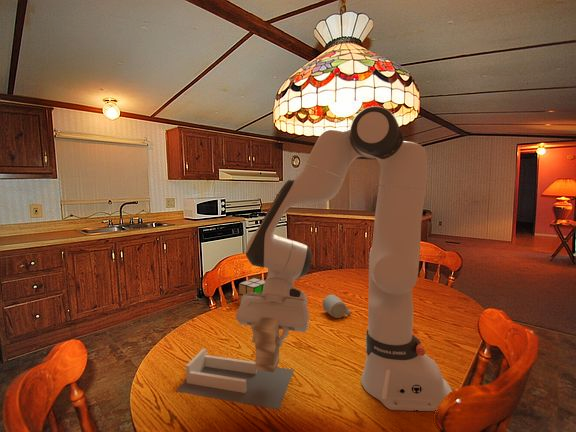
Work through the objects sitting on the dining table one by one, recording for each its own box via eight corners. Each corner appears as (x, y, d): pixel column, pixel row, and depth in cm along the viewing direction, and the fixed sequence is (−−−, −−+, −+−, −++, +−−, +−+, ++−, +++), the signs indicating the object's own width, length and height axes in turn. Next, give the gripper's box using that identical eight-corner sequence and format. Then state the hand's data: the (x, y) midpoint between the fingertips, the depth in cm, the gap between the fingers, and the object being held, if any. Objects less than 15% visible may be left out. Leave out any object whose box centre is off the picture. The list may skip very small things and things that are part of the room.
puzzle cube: (254, 298, 145) (254, 277, 144) (270, 303, 138) (269, 281, 137) (239, 304, 137) (238, 283, 136) (254, 310, 131) (254, 287, 130)
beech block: (279, 361, 82) (279, 319, 81) (274, 372, 77) (273, 327, 76) (261, 358, 83) (261, 317, 82) (255, 369, 78) (255, 325, 77)
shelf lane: (294, 371, 87) (293, 353, 86) (278, 411, 72) (278, 389, 71) (206, 358, 94) (206, 341, 93) (175, 392, 79) (174, 372, 78)
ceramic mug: (331, 320, 119) (332, 302, 118) (322, 312, 127) (322, 295, 126) (354, 317, 123) (355, 298, 122) (344, 309, 131) (344, 292, 130)
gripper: (240, 286, 87) (226, 335, 79) (310, 293, 82) (302, 345, 74) (246, 296, 92) (233, 342, 84) (312, 302, 87) (306, 352, 79)
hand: (266, 344), depth 79 cm, fingers closed on beech block, 5 cm apart
